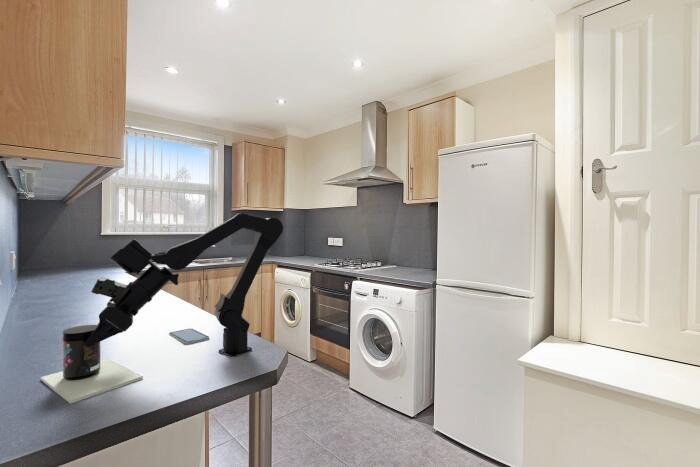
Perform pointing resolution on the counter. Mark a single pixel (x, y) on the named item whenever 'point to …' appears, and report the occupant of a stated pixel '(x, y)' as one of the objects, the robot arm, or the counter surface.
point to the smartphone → (189, 336)
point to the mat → (92, 381)
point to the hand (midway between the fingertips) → (89, 339)
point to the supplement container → (80, 353)
